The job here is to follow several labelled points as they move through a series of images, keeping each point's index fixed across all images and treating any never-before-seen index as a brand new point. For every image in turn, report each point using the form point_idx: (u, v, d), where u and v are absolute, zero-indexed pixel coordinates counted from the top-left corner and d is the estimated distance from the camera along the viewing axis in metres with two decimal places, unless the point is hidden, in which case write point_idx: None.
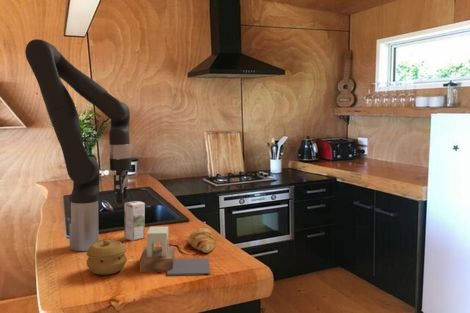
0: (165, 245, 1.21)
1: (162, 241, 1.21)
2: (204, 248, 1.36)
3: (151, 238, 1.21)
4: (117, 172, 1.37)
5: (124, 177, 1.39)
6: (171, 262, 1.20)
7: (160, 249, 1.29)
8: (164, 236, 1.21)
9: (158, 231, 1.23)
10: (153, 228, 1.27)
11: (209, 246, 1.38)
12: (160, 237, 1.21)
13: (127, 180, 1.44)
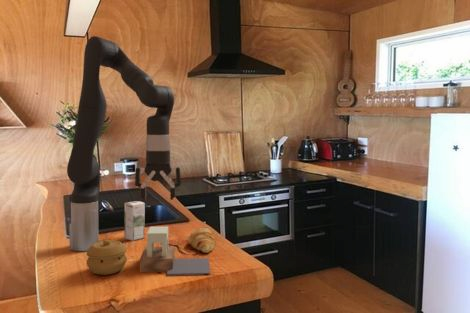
0: (165, 245, 1.21)
1: (162, 241, 1.21)
2: (204, 248, 1.36)
3: (151, 238, 1.21)
4: (169, 165, 1.23)
5: None
6: (171, 262, 1.20)
7: (160, 249, 1.29)
8: (164, 236, 1.21)
9: (158, 231, 1.23)
10: (153, 228, 1.27)
11: (209, 246, 1.38)
12: (160, 237, 1.21)
13: None
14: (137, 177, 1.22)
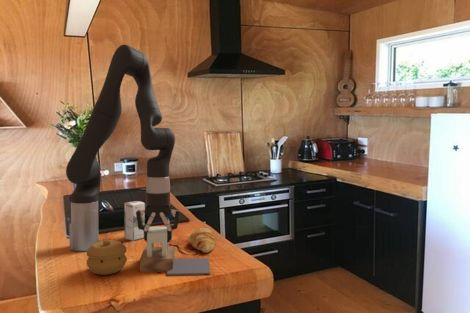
0: (165, 245, 1.21)
1: (162, 241, 1.21)
2: (204, 248, 1.36)
3: (151, 238, 1.21)
4: (169, 206, 1.24)
5: None
6: (171, 262, 1.20)
7: (160, 249, 1.29)
8: (164, 236, 1.21)
9: (157, 231, 1.23)
10: (153, 228, 1.27)
11: (209, 246, 1.37)
12: (160, 237, 1.21)
13: None
14: (139, 220, 1.23)
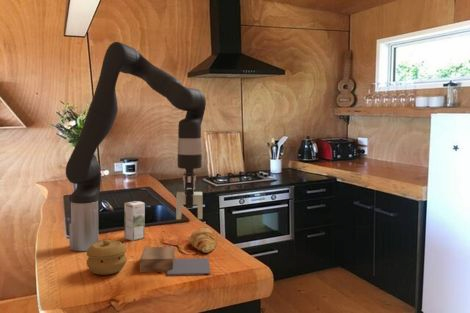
0: None
1: None
2: (204, 248, 1.36)
3: None
4: None
5: None
6: (171, 262, 1.20)
7: (160, 249, 1.29)
8: None
9: (195, 193, 1.22)
10: (182, 194, 1.20)
11: (209, 246, 1.37)
12: None
13: None
14: (193, 185, 1.16)
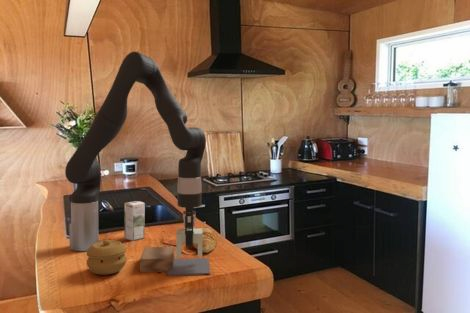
0: None
1: None
2: (204, 248, 1.36)
3: None
4: None
5: None
6: (171, 262, 1.20)
7: (160, 249, 1.29)
8: None
9: (195, 230, 1.23)
10: (182, 232, 1.21)
11: (209, 246, 1.37)
12: None
13: None
14: (193, 225, 1.17)
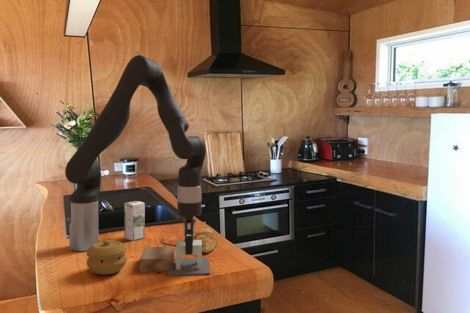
0: None
1: None
2: (204, 248, 1.36)
3: None
4: None
5: None
6: (171, 262, 1.20)
7: (160, 249, 1.29)
8: None
9: (194, 242, 1.23)
10: (181, 244, 1.21)
11: (209, 246, 1.37)
12: None
13: None
14: (192, 232, 1.17)
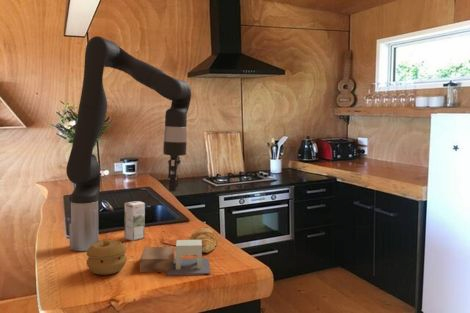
0: None
1: None
2: (204, 248, 1.36)
3: None
4: None
5: None
6: (171, 262, 1.20)
7: (160, 249, 1.29)
8: None
9: (194, 242, 1.23)
10: (181, 244, 1.21)
11: (209, 246, 1.37)
12: None
13: (168, 168, 1.26)
14: (176, 169, 1.23)
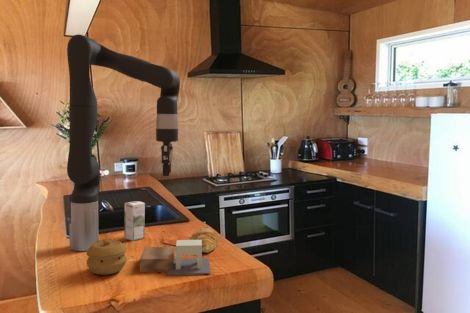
0: None
1: None
2: (204, 248, 1.36)
3: None
4: None
5: None
6: (171, 262, 1.20)
7: (160, 249, 1.29)
8: None
9: (194, 242, 1.23)
10: (181, 244, 1.21)
11: (209, 246, 1.37)
12: None
13: (161, 154, 1.31)
14: (169, 154, 1.28)
